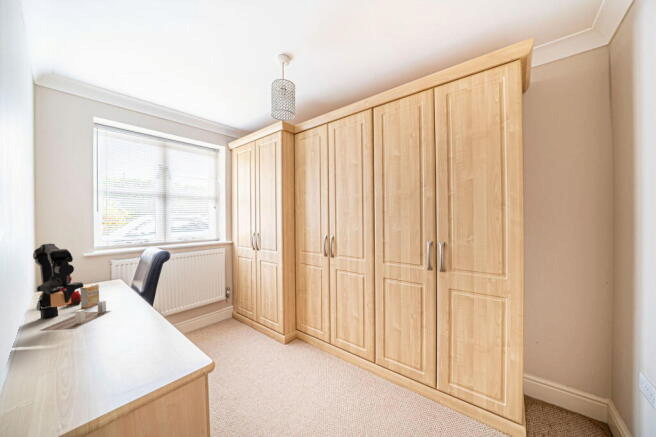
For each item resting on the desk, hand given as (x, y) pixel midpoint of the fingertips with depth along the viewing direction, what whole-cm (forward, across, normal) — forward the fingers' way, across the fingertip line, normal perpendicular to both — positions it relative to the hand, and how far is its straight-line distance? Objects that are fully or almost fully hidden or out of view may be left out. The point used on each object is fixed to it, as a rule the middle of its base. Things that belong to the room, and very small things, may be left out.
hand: (61, 302), depth 135 cm
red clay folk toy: (+13, -27, +36) cm, 47 cm away
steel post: (+12, +8, +15) cm, 21 cm away
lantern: (+13, -41, +43) cm, 61 cm away
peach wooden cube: (+1, 0, 0) cm, 1 cm away
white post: (+12, +8, +1) cm, 15 cm away
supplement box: (+13, -13, +32) cm, 37 cm away
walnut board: (+12, +4, +5) cm, 14 cm away
